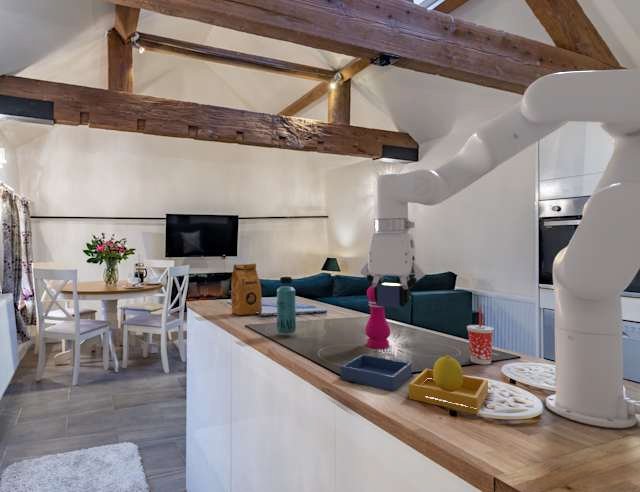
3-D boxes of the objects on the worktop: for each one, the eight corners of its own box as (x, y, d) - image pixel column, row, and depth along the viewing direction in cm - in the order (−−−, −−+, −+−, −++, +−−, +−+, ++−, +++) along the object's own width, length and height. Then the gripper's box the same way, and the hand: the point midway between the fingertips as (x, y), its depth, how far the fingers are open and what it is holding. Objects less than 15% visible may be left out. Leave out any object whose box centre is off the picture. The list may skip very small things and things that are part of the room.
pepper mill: (364, 347, 120) (363, 280, 121) (366, 341, 127) (365, 278, 127) (390, 350, 118) (389, 281, 118) (390, 343, 124) (389, 279, 125)
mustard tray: (488, 394, 84) (487, 380, 84) (477, 414, 75) (476, 398, 75) (426, 381, 92) (425, 368, 92) (409, 398, 83) (408, 383, 83)
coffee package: (264, 315, 173) (263, 263, 173) (237, 317, 169) (236, 264, 169) (255, 311, 183) (254, 262, 183) (229, 313, 178) (228, 263, 178)
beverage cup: (489, 367, 102) (489, 311, 102) (463, 361, 106) (462, 308, 106) (497, 361, 106) (497, 308, 106) (472, 356, 110) (471, 305, 110)
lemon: (467, 400, 80) (466, 359, 80) (437, 398, 81) (436, 358, 81) (458, 389, 86) (457, 352, 86) (430, 388, 87) (429, 350, 87)
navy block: (406, 305, 95) (406, 284, 95) (398, 308, 92) (398, 286, 92) (385, 303, 99) (384, 282, 99) (377, 305, 95) (377, 284, 95)
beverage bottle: (282, 332, 141) (282, 275, 141) (299, 335, 137) (299, 276, 137) (273, 336, 136) (272, 277, 136) (290, 339, 132) (289, 278, 132)
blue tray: (411, 375, 96) (411, 363, 96) (393, 391, 87) (393, 377, 87) (362, 365, 104) (362, 354, 104) (340, 379, 95) (340, 366, 95)
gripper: (434, 226, 92) (435, 306, 92) (362, 228, 103) (363, 299, 103) (424, 226, 87) (425, 311, 87) (349, 228, 98) (350, 303, 98)
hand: (391, 303), depth 95 cm, fingers closed on navy block, 5 cm apart
